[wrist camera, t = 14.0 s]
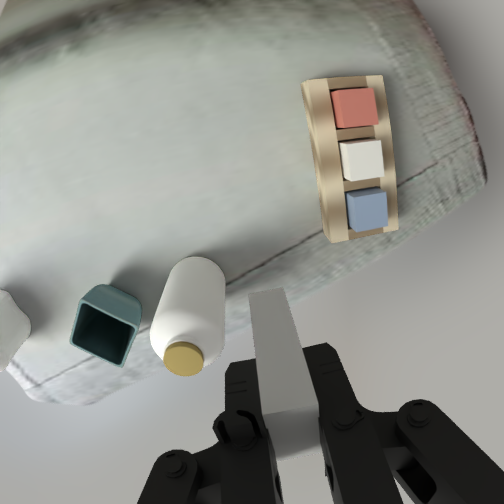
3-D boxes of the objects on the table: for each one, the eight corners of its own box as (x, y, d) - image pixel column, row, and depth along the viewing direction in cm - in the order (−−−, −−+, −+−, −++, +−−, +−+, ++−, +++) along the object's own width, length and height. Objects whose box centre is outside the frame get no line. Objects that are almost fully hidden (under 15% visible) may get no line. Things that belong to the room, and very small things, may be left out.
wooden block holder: (300, 83, 37) (307, 80, 34) (369, 78, 37) (382, 75, 34) (323, 233, 45) (331, 243, 42) (386, 221, 45) (398, 229, 42)
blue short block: (340, 189, 42) (353, 197, 37) (370, 184, 42) (386, 192, 37) (343, 220, 44) (356, 232, 39) (372, 215, 44) (388, 226, 39)
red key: (325, 93, 37) (338, 90, 32) (357, 91, 37) (373, 87, 32) (331, 127, 39) (344, 127, 34) (362, 123, 39) (378, 124, 34)
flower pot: (153, 293, 47) (139, 327, 39) (135, 334, 50) (122, 369, 42) (102, 268, 45) (79, 298, 37) (88, 311, 48) (68, 343, 40)
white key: (333, 141, 39) (346, 144, 35) (364, 137, 39) (380, 140, 35) (338, 174, 41) (351, 181, 36) (368, 170, 41) (384, 176, 36)
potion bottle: (166, 299, 48) (141, 382, 31) (173, 248, 45) (143, 321, 28) (220, 308, 49) (217, 395, 32) (230, 259, 46) (232, 336, 29)
